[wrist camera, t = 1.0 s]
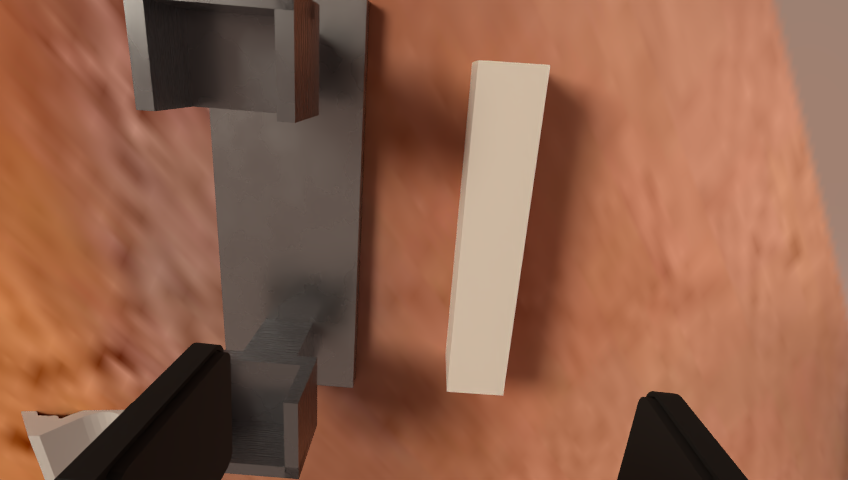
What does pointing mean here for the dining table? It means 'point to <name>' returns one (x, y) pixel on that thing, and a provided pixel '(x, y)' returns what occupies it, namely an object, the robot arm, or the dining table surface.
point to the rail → (493, 220)
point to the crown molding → (64, 436)
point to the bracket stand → (273, 193)
